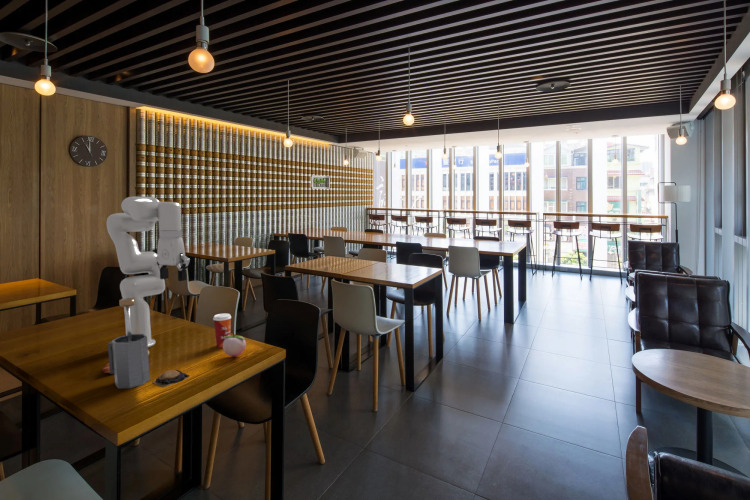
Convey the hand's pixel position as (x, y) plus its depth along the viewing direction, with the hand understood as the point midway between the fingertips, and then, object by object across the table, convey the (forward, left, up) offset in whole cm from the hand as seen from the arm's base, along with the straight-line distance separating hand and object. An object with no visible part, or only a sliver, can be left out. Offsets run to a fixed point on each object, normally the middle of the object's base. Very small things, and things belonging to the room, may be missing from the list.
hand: (173, 279), depth 148 cm
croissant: (-20, +1, -35) cm, 41 cm away
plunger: (-9, -14, -23) cm, 28 cm away
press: (-11, -14, -34) cm, 39 cm away
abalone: (+3, -12, -35) cm, 37 cm away
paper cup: (+9, +23, -35) cm, 43 cm away
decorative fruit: (+19, +9, -35) cm, 40 cm away
